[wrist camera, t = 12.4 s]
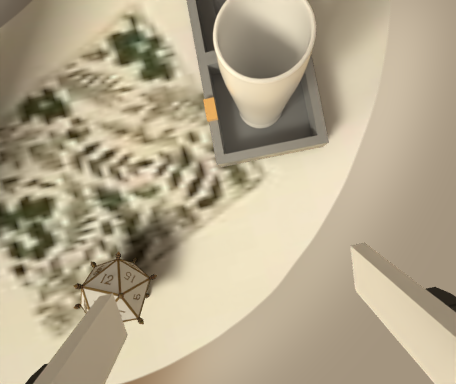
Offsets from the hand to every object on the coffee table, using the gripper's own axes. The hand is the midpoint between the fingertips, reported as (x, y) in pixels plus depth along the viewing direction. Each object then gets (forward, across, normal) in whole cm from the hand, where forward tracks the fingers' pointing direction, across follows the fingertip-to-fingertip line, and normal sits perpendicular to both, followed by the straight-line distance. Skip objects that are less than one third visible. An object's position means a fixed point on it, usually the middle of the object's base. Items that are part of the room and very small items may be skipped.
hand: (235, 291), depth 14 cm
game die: (+18, -14, -8) cm, 25 cm away
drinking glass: (+20, +6, +10) cm, 24 cm away
